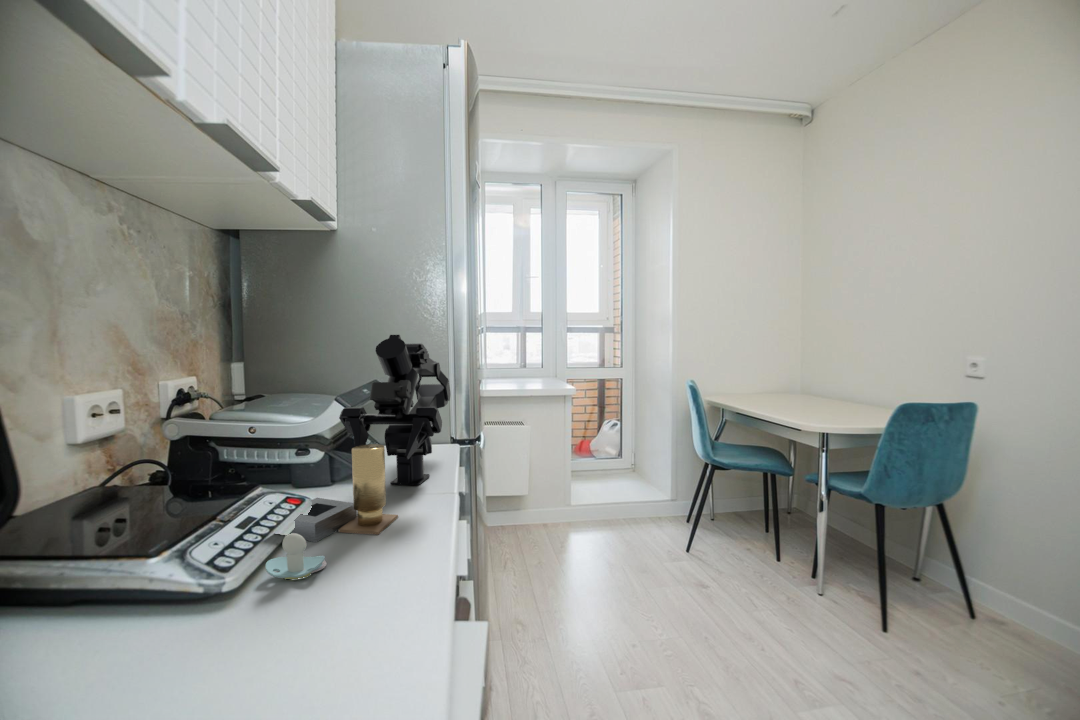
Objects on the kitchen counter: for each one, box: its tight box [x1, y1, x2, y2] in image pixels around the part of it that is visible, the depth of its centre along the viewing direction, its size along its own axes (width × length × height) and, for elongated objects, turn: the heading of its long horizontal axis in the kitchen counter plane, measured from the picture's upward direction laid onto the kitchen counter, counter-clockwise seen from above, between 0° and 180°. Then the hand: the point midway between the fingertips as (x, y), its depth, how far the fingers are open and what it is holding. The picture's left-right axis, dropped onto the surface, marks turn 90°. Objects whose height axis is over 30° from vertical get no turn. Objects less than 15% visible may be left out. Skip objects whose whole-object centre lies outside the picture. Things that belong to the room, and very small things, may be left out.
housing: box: [292, 497, 358, 543], centre depth 79 cm, size 9×9×3 cm
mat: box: [338, 513, 399, 536], centre depth 79 cm, size 7×7×1 cm
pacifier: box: [265, 533, 328, 580], centre depth 64 cm, size 7×6×6 cm
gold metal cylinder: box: [351, 443, 387, 526], centre depth 79 cm, size 5×5×13 cm
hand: (381, 458), depth 85 cm, fingers open, 9 cm apart
